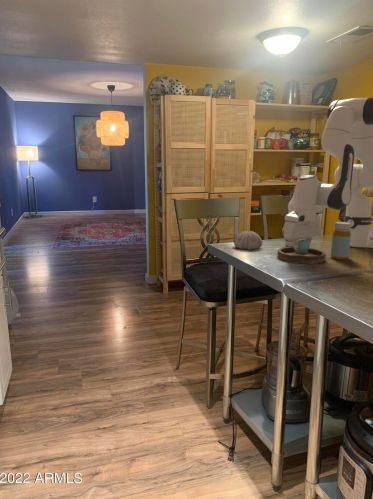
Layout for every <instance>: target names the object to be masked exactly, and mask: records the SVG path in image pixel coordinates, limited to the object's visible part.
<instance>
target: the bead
mask: <svg viewBox="0 0 373 499" xmlns="http://www.w3.org/2000/svg"><path fill="white" fill-rule="evenodd" d="M298 245H300V247H299V248H300V249H298V250H295V254H298V255H307V254H308V246H309V241H308V240H302V239H299V242H298ZM309 247H310V246H309Z"/></svg>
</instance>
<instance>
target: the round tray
mask: <svg viewBox="0 0 373 499" xmlns="http://www.w3.org/2000/svg"><path fill="white" fill-rule="evenodd" d="M276 254H277V259H279V260H282V261H285V262H286V263H287V262H288V263H294V264H303V265H311V264H313V265H314V264H315V265H316V264H322V263H324V262H325V261H326V256H327V253H326V252H325V251H324V250H321V249H317V248H313V247H312V248H311V247H309V248H308V254H307V255H298V254H295V249H294V247H290V246H285V247H280V248H278V249H277V253H276Z"/></svg>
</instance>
